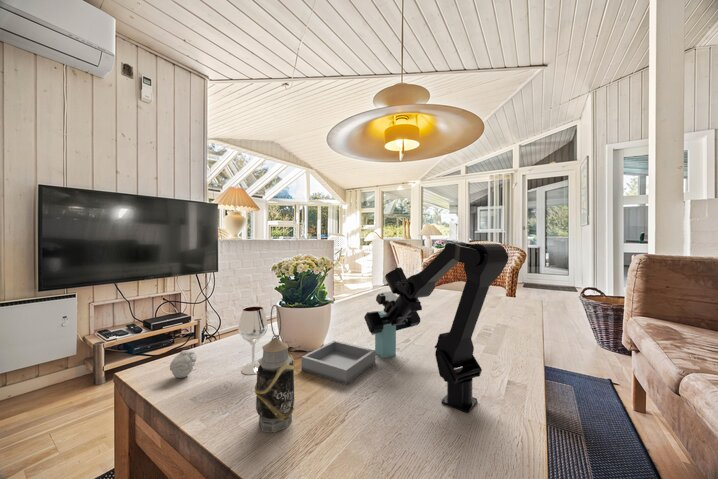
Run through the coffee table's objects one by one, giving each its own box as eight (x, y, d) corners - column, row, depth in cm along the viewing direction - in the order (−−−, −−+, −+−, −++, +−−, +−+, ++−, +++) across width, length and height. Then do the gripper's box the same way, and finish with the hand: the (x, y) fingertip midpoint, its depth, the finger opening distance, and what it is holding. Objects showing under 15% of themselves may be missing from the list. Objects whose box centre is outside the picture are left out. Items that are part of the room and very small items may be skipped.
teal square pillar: (395, 355, 98) (396, 312, 97) (383, 358, 95) (383, 314, 95) (387, 350, 102) (387, 309, 102) (375, 352, 100) (375, 311, 100)
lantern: (300, 427, 61) (300, 306, 61) (260, 441, 57) (260, 312, 56) (286, 406, 68) (286, 299, 68) (250, 418, 64) (250, 303, 63)
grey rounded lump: (201, 372, 85) (201, 348, 85) (180, 384, 78) (180, 358, 78) (185, 369, 87) (185, 346, 87) (163, 380, 80) (163, 355, 80)
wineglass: (233, 369, 87) (233, 309, 86) (259, 361, 93) (259, 304, 92) (246, 379, 81) (246, 314, 81) (272, 369, 87) (272, 308, 87)
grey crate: (346, 385, 78) (346, 370, 78) (301, 370, 86) (301, 356, 86) (375, 363, 91) (375, 350, 91) (334, 352, 100) (334, 340, 100)
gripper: (415, 282, 99) (396, 308, 109) (367, 287, 91) (351, 314, 100) (431, 311, 92) (409, 335, 102) (380, 319, 84) (362, 344, 94)
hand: (383, 331), depth 100 cm, fingers open, 9 cm apart
